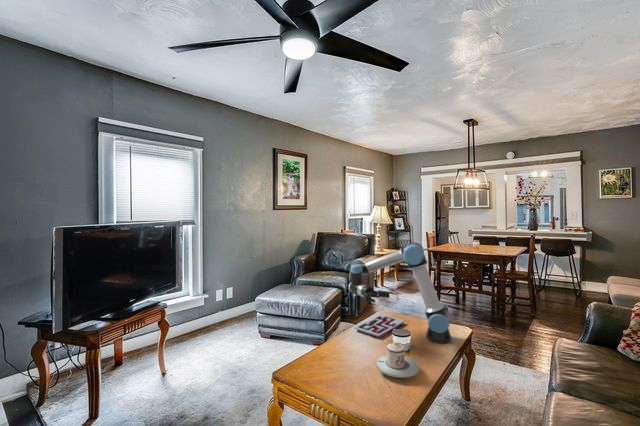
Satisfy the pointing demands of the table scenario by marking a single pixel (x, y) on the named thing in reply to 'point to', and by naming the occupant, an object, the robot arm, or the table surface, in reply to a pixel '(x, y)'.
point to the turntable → (407, 371)
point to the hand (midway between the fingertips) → (388, 300)
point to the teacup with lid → (395, 355)
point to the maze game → (379, 325)
